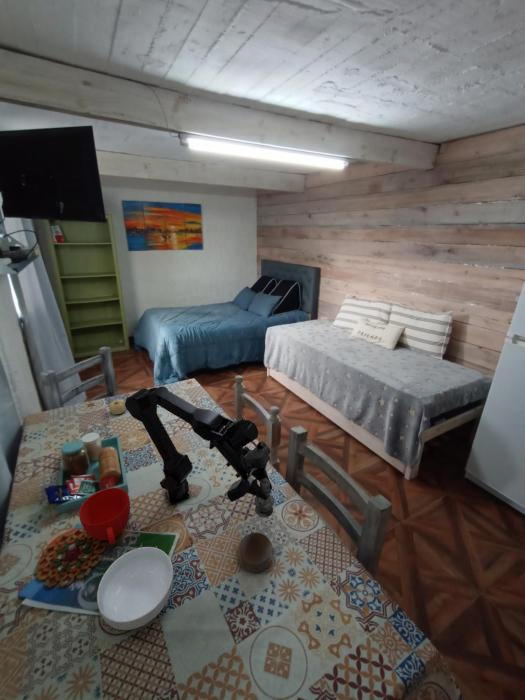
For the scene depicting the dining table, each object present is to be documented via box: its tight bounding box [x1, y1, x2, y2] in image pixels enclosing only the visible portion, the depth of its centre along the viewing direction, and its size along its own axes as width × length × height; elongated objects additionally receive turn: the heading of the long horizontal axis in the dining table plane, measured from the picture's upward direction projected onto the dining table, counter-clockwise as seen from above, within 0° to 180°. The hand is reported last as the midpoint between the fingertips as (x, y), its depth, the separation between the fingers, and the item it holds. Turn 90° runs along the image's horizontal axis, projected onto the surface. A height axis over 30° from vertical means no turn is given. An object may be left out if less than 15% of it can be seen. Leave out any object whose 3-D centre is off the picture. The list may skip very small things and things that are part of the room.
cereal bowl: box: [96, 546, 175, 631], centre depth 75 cm, size 17×17×7 cm
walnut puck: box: [238, 532, 273, 574], centre depth 86 cm, size 9×9×4 cm
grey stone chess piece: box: [253, 478, 275, 518], centre depth 90 cm, size 6×6×12 cm
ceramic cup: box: [78, 487, 131, 545], centre depth 90 cm, size 13×17×10 cm
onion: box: [108, 398, 127, 415], centre depth 152 cm, size 8×8×7 cm
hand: (269, 494), depth 89 cm, fingers closed on grey stone chess piece, 3 cm apart
